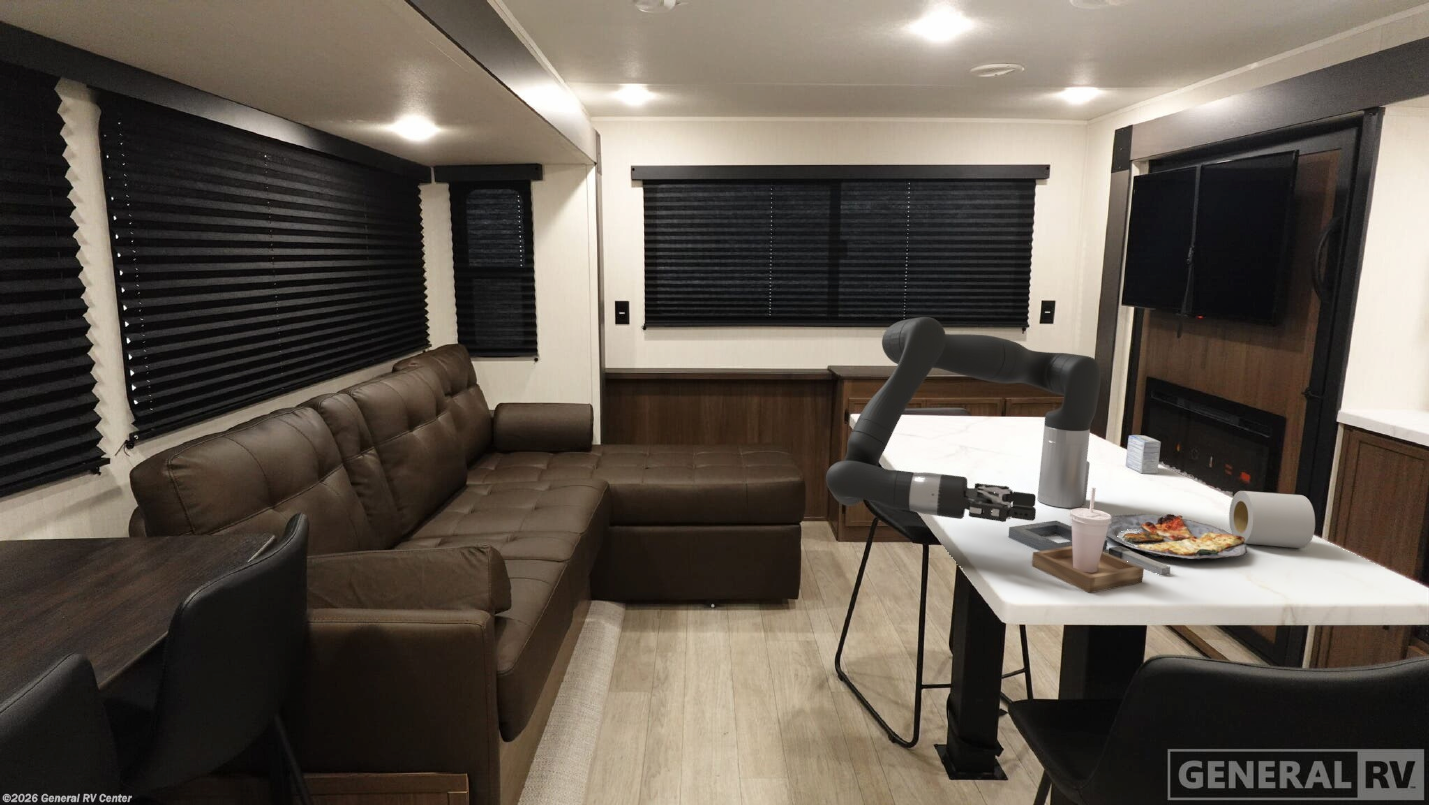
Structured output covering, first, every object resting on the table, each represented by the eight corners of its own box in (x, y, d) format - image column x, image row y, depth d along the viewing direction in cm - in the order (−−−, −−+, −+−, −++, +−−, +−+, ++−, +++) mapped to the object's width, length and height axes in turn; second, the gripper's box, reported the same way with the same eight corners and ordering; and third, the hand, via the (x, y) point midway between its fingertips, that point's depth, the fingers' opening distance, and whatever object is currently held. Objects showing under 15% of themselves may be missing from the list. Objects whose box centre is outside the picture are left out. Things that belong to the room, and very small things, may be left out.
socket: (1055, 530, 152) (1056, 520, 151) (1106, 550, 141) (1107, 540, 140) (1008, 537, 147) (1009, 527, 147) (1057, 558, 136) (1058, 548, 136)
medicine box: (1157, 474, 197) (1161, 441, 195) (1140, 474, 197) (1144, 441, 195) (1141, 466, 204) (1145, 435, 203) (1124, 466, 205) (1128, 434, 203)
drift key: (1108, 555, 139) (1108, 547, 139) (1119, 553, 140) (1120, 546, 140) (1159, 577, 129) (1160, 568, 129) (1171, 575, 130) (1172, 566, 130)
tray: (1082, 557, 137) (1084, 544, 137) (1142, 582, 126) (1143, 568, 126) (1031, 566, 133) (1033, 552, 132) (1088, 592, 122) (1090, 578, 121)
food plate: (1179, 520, 159) (1180, 504, 158) (1278, 563, 136) (1280, 544, 136) (1070, 528, 155) (1072, 511, 154) (1154, 574, 132) (1156, 555, 132)
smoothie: (1108, 566, 130) (1116, 487, 128) (1103, 578, 125) (1112, 496, 123) (1067, 558, 134) (1075, 481, 131) (1061, 570, 128) (1069, 490, 126)
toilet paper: (1283, 538, 150) (1291, 489, 148) (1310, 556, 140) (1318, 503, 138) (1226, 533, 152) (1233, 484, 150) (1248, 550, 142) (1256, 499, 141)
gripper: (935, 484, 130) (1038, 496, 124) (943, 465, 143) (1037, 476, 137) (931, 526, 131) (1033, 541, 125) (940, 504, 144) (1033, 516, 138)
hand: (1035, 507), depth 131 cm, fingers open, 8 cm apart
